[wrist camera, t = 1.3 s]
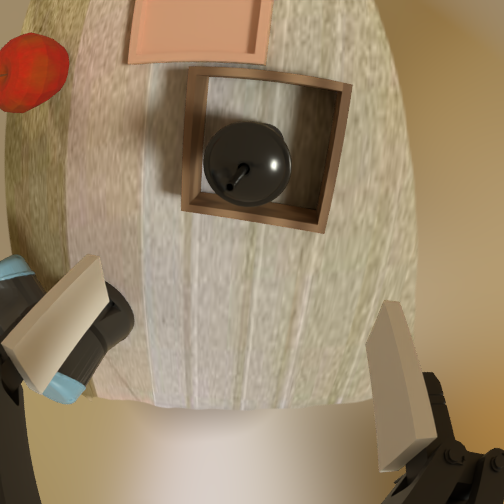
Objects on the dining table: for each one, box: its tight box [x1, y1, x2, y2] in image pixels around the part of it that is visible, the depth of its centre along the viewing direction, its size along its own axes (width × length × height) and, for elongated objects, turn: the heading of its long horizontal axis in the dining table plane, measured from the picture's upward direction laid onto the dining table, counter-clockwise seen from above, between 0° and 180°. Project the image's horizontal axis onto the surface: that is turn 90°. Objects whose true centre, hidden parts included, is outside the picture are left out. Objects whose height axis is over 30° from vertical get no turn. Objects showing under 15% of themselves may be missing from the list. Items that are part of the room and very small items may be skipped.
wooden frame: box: [181, 66, 352, 234], centre depth 35 cm, size 18×18×5 cm
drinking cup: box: [203, 121, 292, 207], centre depth 28 cm, size 8×8×20 cm
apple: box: [0, 33, 69, 113], centre depth 28 cm, size 12×12×14 cm
